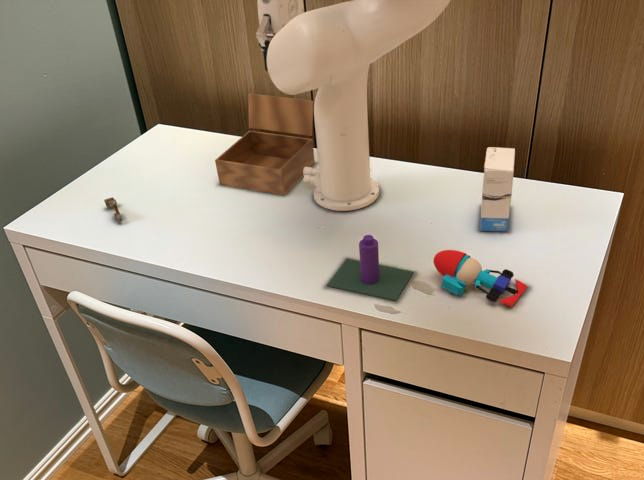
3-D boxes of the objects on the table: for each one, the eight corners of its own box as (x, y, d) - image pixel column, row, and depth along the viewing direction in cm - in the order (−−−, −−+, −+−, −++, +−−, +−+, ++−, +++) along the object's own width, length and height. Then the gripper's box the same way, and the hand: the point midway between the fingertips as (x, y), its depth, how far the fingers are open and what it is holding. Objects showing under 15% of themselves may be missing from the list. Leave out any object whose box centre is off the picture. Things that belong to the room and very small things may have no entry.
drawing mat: (327, 286, 116) (326, 284, 116) (346, 259, 121) (346, 258, 121) (396, 301, 112) (395, 299, 111) (413, 273, 117) (413, 271, 117)
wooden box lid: (248, 93, 146) (248, 93, 146) (248, 127, 149) (249, 127, 149) (312, 100, 140) (313, 100, 141) (311, 136, 144) (312, 135, 144)
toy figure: (526, 291, 113) (442, 255, 118) (534, 269, 109) (446, 232, 114) (507, 321, 109) (421, 282, 114) (514, 299, 105) (424, 260, 110)
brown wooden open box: (219, 184, 144) (214, 160, 140) (253, 154, 153) (249, 130, 149) (284, 195, 139) (280, 170, 135) (315, 163, 148) (312, 139, 144)
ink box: (508, 232, 123) (514, 170, 115) (479, 231, 124) (483, 169, 116) (509, 207, 129) (515, 146, 122) (481, 206, 130) (485, 145, 123)
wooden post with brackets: (116, 223, 134) (108, 199, 132) (111, 221, 141) (103, 198, 139) (126, 220, 134) (117, 196, 133) (120, 218, 142) (112, 196, 140)
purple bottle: (358, 282, 115) (355, 240, 110) (365, 272, 117) (363, 230, 112) (375, 286, 114) (373, 244, 109) (382, 275, 116) (380, 233, 111)
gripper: (271, -17, 120) (281, 82, 132) (314, -48, 131) (320, 46, 143) (233, -21, 123) (246, 77, 135) (278, -51, 134) (287, 42, 146)
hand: (284, 61), depth 139 cm, fingers open, 9 cm apart
